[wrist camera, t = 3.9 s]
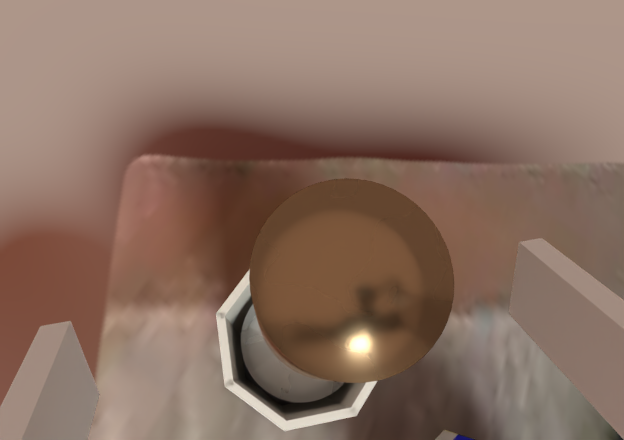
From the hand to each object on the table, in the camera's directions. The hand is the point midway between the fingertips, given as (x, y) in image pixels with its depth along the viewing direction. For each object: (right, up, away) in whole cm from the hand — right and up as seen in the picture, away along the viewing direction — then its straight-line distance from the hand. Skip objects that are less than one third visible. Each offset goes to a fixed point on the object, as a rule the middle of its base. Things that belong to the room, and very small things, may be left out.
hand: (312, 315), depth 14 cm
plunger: (-1, -5, +18) cm, 19 cm away
